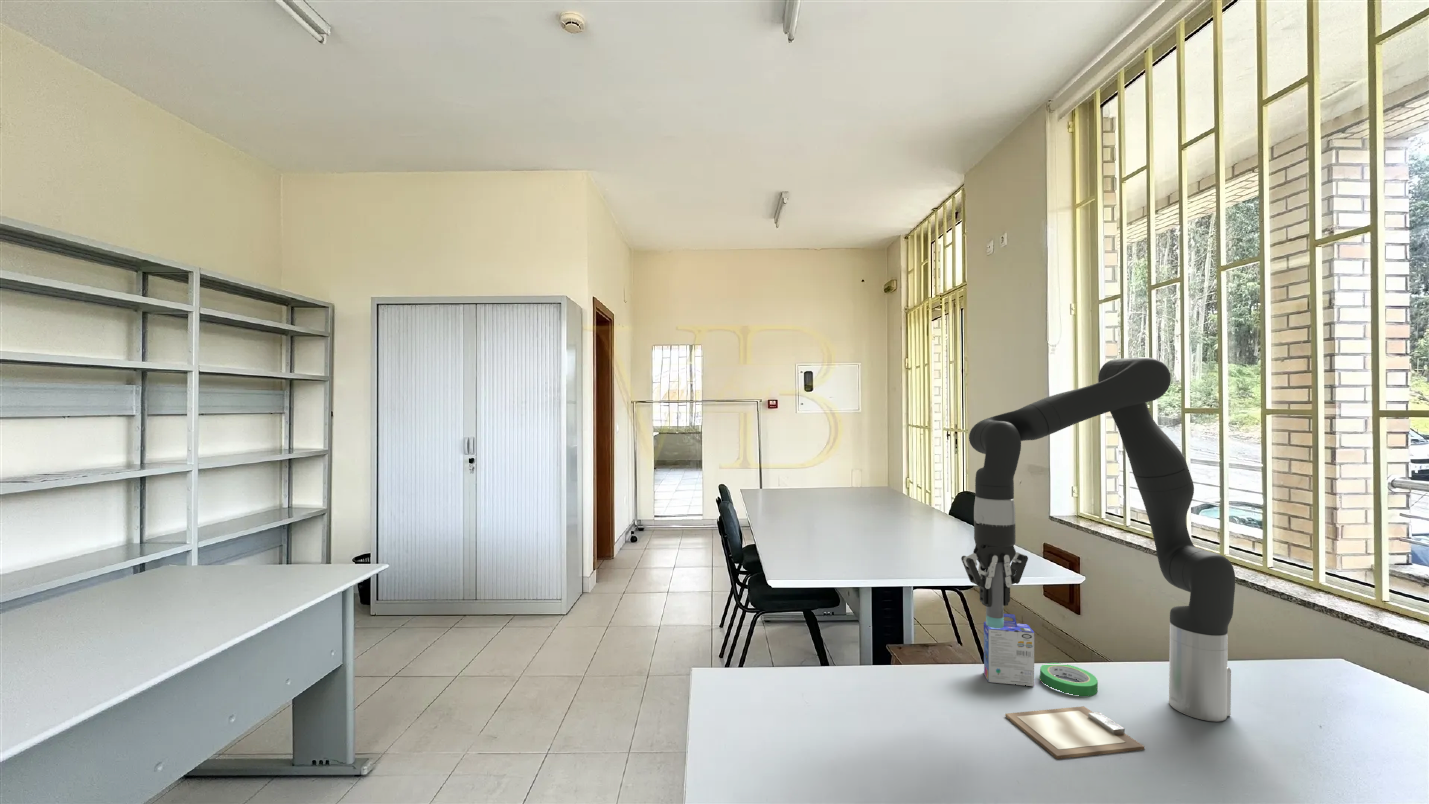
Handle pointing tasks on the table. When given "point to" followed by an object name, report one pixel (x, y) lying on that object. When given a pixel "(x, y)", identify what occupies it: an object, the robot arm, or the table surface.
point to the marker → (996, 599)
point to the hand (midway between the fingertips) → (994, 604)
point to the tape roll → (1082, 688)
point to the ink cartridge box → (1009, 653)
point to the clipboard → (1074, 732)
